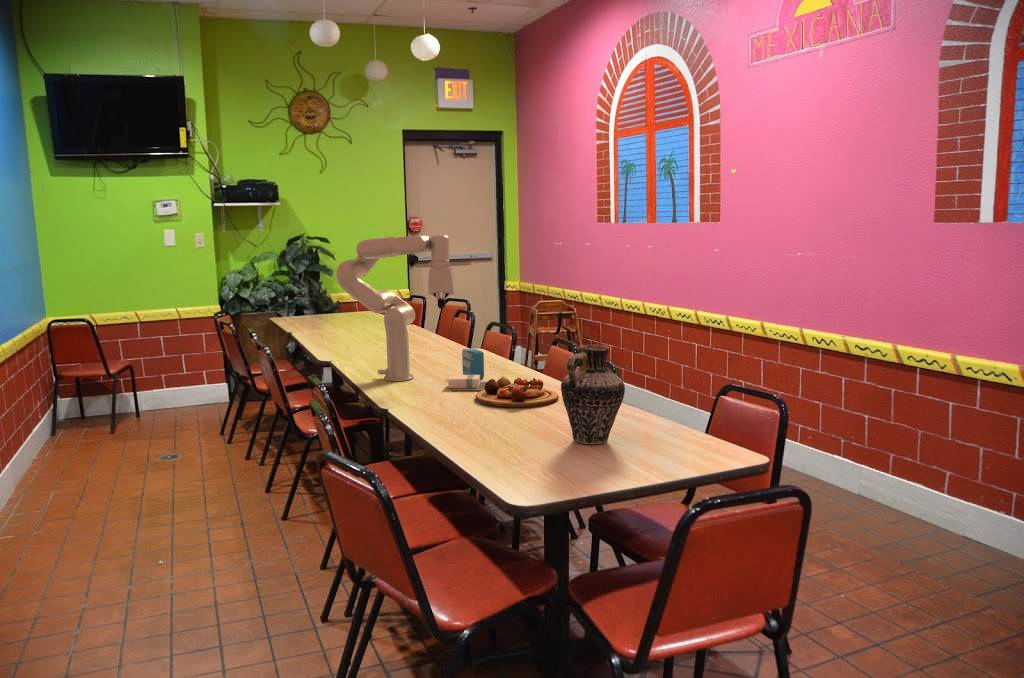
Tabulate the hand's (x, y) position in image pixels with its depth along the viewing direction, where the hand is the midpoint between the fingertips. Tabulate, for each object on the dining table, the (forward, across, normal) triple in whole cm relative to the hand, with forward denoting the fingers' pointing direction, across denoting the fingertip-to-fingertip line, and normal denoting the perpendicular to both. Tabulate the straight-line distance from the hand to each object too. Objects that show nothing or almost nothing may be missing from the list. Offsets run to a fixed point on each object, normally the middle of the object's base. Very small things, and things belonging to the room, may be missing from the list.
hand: (441, 308), depth 341 cm
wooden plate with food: (+32, +34, -34) cm, 57 cm away
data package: (+31, +12, +8) cm, 35 cm away
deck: (+29, +5, -13) cm, 32 cm away
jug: (+31, +60, -93) cm, 115 cm away
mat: (+31, +16, -13) cm, 37 cm away
